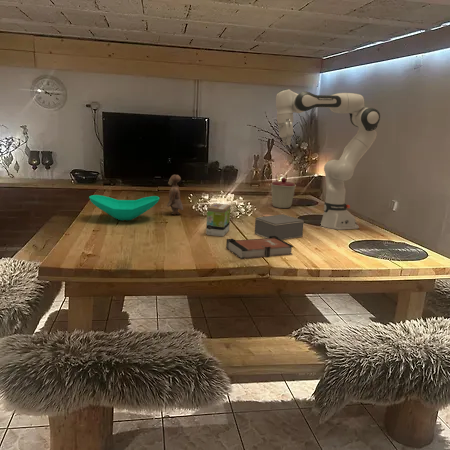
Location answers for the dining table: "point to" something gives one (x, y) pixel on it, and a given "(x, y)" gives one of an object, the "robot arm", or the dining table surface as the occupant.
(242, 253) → the book
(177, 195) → the clay figurine
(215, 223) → the tea box
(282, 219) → the lid
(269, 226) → the box
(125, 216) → the table top decor
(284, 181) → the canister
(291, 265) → the dining table surface
